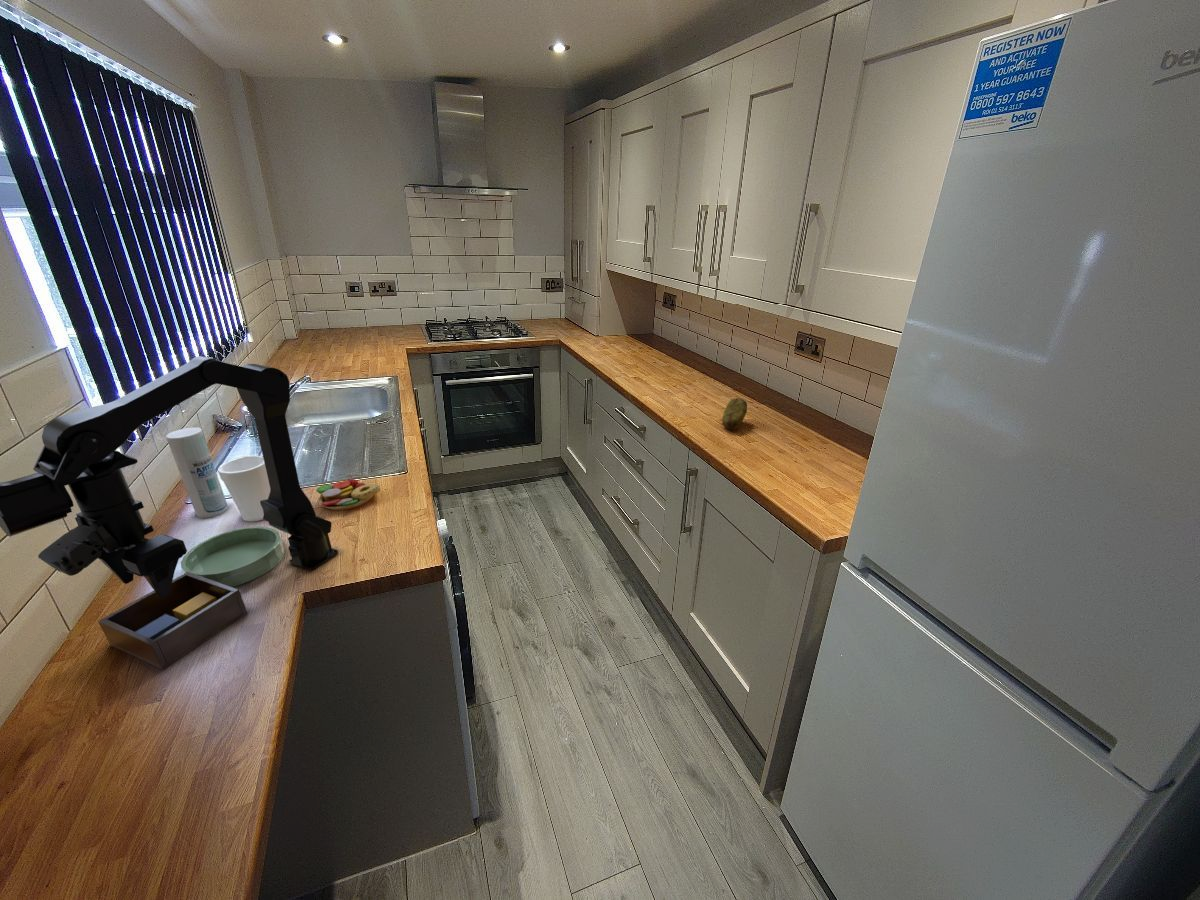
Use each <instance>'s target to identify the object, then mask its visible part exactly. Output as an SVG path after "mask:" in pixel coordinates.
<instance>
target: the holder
mask: <svg viewBox="0 0 1200 900" xmlns="http://www.w3.org/2000/svg"><path fill="white" fill-rule="evenodd" d="M202 592H204V593H206V594H209V595H212V596H215V597H216V598H217V601H215V602H214V603H212V604H210V605H209V606H207V607H206V608H204V609H202V610H201V611H199V612H198V613H196V614H194V615H193V616H191V617H189V618H188V619H186V620H185V621H183V622H181V623H180V624H178V625H177V626H175V627H173V628H172V629H170V630H168V631H167V632H165V633H164V634H162V635H160V636H159V637H157V638H156V639H154V640H153V639H150V638H148V637H146V636H144V635H141V634H139V633H137V632H136V631H138V630H140V629H141V628H143V627H145V626H146V625H148V624H150V623H151V622H153V621H155V620H156V619H158V618H160V617H161V616H163V615H165V614H167V615H169V616H172V617H174V618H176V617H175V615H174V612H173V609H175V608H177V607H178V606H180V605H182V604H184V603H185V602H187V601H189V600H190V599H192V598H194V597H195V596H197V595H199V594H200V593H202ZM246 615H248V610H247V608H246V605H245V602H244V600H243V596H242V594H241V591H240V589H238V588H236V587H234V586H233V587H230V586H227V585H224V584H222V583H219V582H216V581H213V580H210V579H207V578H204V577H202V576H199V575H196V574H193V573H190V572H187V573H185V574H184V573H182V574H181V575H179V576H178V577H175V578H173V580H172V585H171V589H170V593H169V595H167V596H166V597H164V598H160V597H159V596H158V594H157V593H156V592H155V591H154V590H151V591H150V592H148V593H147V594H145V595H143V596H141V597H139V598H137V599H136V600H134V601H131V602H130V603H128V604H127V605H125V606H122V607H121V608H119V609H117V610H115V611H113V612H112V613H110V614H108V615H106V616H105V617H103V618H101V619H99V620H98V621H97V622H98V624H99V626H100V628H101V631H102V632H103V634H104V636H105V638H106V640H107V641H108V644H109V646H110V647H112V648H114V649H117V650H119V651H121V652H123V653H126V654H127V655H130V656H132V657H134V658H136V659H139V660H141V661H143V662H145V663H147V664H149V665H151V666H153V667H155V668H158V669H160V670H161V671H163V670H165V669H167V668H169V667H170V666H171V665H173V664H174V663H176V662H177V661H179V660H180V659H182V658H183V657H185V656H186V655H188V654H189V653H191V652H192V651H194V650H195V649H197V648H198V647H200V646H201V645H203V644H204V643H205V642H207V641H208V640H210V639H212V638H213V637H215V636H216V635H217V634H219V633H221V632H222V631H223V630H225V629H226V628H227V627H229V626H231V625H232V624H233V623H235V622H237V621H238V620H239V619H241V618H242V617H244V616H246Z"/></svg>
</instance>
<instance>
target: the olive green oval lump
mask: <svg viewBox="0 0 1200 900" xmlns="http://www.w3.org/2000/svg"><path fill="white" fill-rule="evenodd" d="M747 412H748V403H747V401H746V400H744V399H743V398H740V397H738V398H732V399H730V400H729V401H728V402H727V404H726V406H725V409H724V411H723V414H722V417H721V421H722V425H723V427H724V428H725V429H727V430H729V431H733V430H736V429H738V428H739V427H740V425H741V423H743V422H744V419H745V417H746V415H747Z"/></svg>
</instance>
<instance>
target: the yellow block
mask: <svg viewBox="0 0 1200 900" xmlns="http://www.w3.org/2000/svg"><path fill="white" fill-rule="evenodd" d="M215 601H217V598H216V597H215V596H212V595H209V594H206V593H204V592H202V593H200V594H199V595H197V596H195V597H194V598H192V599H190V600H189V601H187V602H185V603H184V604H182V605H180V606H178V607H177V608H175V609H173V612H174V615H175V617H176V618H177V619H179V620H180V622H183V621H185V620H186V619H188V618H189V617H191V616H193V615H194V614H196V613H198V612H199V611H201V610H202V609H204V608H206V607H207V606H209V605H210V604H212V603H214V602H215Z"/></svg>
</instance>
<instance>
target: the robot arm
mask: <svg viewBox="0 0 1200 900" xmlns="http://www.w3.org/2000/svg"><path fill="white" fill-rule="evenodd" d="M213 385H222V386H227V387H231V388H236V390H237V392H238V394H239V397H240V399H241V402H242V403H243V404H244V406H245V407H246V408H247V409H248V411H249V412H250V414H251V415H252V417H253V419H254V423H255V427H256V432H257V437H258V441H259V444H260V450H261V454H262V456H263V458H264V463H265V467H266V472H267V476H268V480H269V485H270V494H269V497H268V499H266V500H261V501H260V504H261V507H262V509H263V512H264V516H263V519H262V520H263V521H265V522H267V523H268V524H269V525H270V526H271V527H273V528H274V529H276V530H279V531H281V532H283V533H285V534H288V535H290V536H288V537H287V541H288V545H289V546H288V551H289V555H290V558H291V559H289V564H291V565H294V566H297V567H301V568H304V569H307V570H311V571H312V570H315V569H316V568H318V567H319V566H321V565H322V564H324V563H326V562H327V561H328V560H330V559H331V558H333V557H335V556H336V555H337V554H338V553H339V550H338V549H335V548H333V547H332V543H331V540H330V536H329V534H330V533H331V532H332V524H333V523H332V521H330V520H328V519H325V518H323V517H320V516H319V515H317V514H316V511H315V509H314V506H313V504H312V502H311V500H310V499H309V497H308V496H307V495H306V493H305V492H304V490H303V489H302V487H301V485H300V480H299V476H298V475H299V474H298V470H297V466H296V462H295V456H294V451H293V447H292V442H291V437H290V431H289V427H288V423H287V422H288V421H287V417H286V413H287V411H288V407H289V405H290V403H291V402H290V401H291V383H290V379H289V376H288V375H287V374H286V373H285V372H284V371H283V370H281V369H279V368H276V367H272V366H267V365H262V364H258V363H247V364H244V365H243V366H241V365H236V364H231V363H228V362H225V361H222V360H220V359H217V358H213V357H208V356H203V355H202V356H201V355H199V356H195V357H193V358H191V359H190V360H189V361H188V362H186V363H185V364H182V365H181V366H179V367H177V368H175V369H173V370H171V371H169V372H167V373H166V374H163V375H161V376H159V377H158V378H156V379H154V380H152V381H150V382H148V383H146V384H144V385H142V386H140V387H138V388H136V389H134V390H132V391H131V392H128V393H127V394H125V395H123V396H121V397H119V398H116V399H115V400H113V401H110V402H107V403H104V404H100V405H95V406H91V407H87V408H82V409H79V410H76V411H72V412H71V413H67V414H65V415H61V416H58V417H56V418H54V419H52V420H51V421H49V422H48V423H46V424H45V425H44V427H43V429H42V434H41V440H42V444H43V447H42V449H41V451H40V453H39V455H38V457H37V459H36V461H35V463H34V466H33V469H32V470H33V471H34V472H35V473H32V474H29V475H26V476H25V475H24V476H22V477H18V478H14V479H11V480H8V481H0V529H1V530H2V531H3V532H4V534H6V535H7V536H8V537H11V538H12V537H13V536H16V535H20V534H22V533H24V532H27V531H28V532H29V531H30V530H33V529H36V528H39V527H41V526H45V525H49V524H51V523H53V522H56V521H59V520H62V519H64V518H67V517H68V514H70V513H72V512H73V511H72V510H73V509H72V508H73V507H74V501H73V499H72V496H73V498H74V500H75V502H76V504H77V506H78V508H79V510H80V512H78V513H76V514H75V517H74V519H75V521H76V524H77V526H75V527H73V528H71V529H70V530H69V531H68V532H66V533H64V534H62V536H60V537H59V538H57V539H55V541H53V542H52V543H51V544H49V545H48V546H47V547H46V548H44V549H43V550H41V551H40V553H39V554H38V555H37V558H38V559H39V560H41V561H42V562H44V563H45V564H47V565H48V566H49V567H51V568H52V569H54V570H56V571H57V572H60V573H63V574H65V575H67V576H69V577H73V576H76V575H78V574H79V573H81V572H82V571H83V570H84V569H86V568H88V567H89V566H91V564H93V563H94V562H95V561H96V560H99V561H100V562H102V564H103V565H105V567H107V568H108V569H109V570H110V571H111V572H112V573H113V574H114V575H115V576H116V577H117V579H119V580H120V581H121V582H122V583H123V584H125V585H128V584H130V583H132V582H133V581H134V575H135V576H138V577H144V578H145V580H146V581H147V583H148V584H149V585H150V587H151V588H152V590H153V591H155V592H156V593H157V594H158V596H159V597H160V598H164V597H166V596H167V595H169V593H170V589H171V585H172V580H174V575H175V572H176V569H177V566H178V562H179V560H180V559H182V557H184V556H185V555H186V554H187V553H188V549H187V546H186V544H185V542H184V540H183V539H180V538H176V537H173V536H170V535H166V534H162V533H159V534H158V535H155V536H153V537H151V538H147V537H146V536H147V535H148V534H151V533H153V532H154V531H155V530H154V527H153V525H152V524H148V523H146V522H144V519H143V517H142V514H141V512H140V510H142V509H144V508H145V506H144V504H143V501H140V500H137V499H135V498H134V496H133V494H132V492H131V489H130V487H129V485H128V483H127V479H126V477H125V475H124V473H123V470H122V469H123V468H127V467H130V466H133V465H136V464H137V463H138V459H137V458H135V457H133V456H130V455H128V454H125V453H122V452H121V451H119V450H118V449H119V448H120V447H121V446H123V445H124V444H125V443H126V442H127V441H128V440H129V438H130V437H131V435H133V433H134V432H135V431H136V430H137V429H138V428H140V427H141V426H142V425H144V424H146V423H147V422H149V421H152V420H153V419H155V418H157V417H158V416H161V415H162V414H164V413H165V412H168V411H169V410H171V409H173V408H175V407H176V406H178V405H180V404H181V403H184V402H185V401H187V400H188V399H191V398H192V397H194V396H196V395H197V394H199V393H201V392H203V391H204V390H206V389H208V388H210V387H212V386H213ZM66 486H68V488H69V490H70V492H71V494H72V496H71V495H70V493H69V491H68V490H67V488H66Z"/></svg>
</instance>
